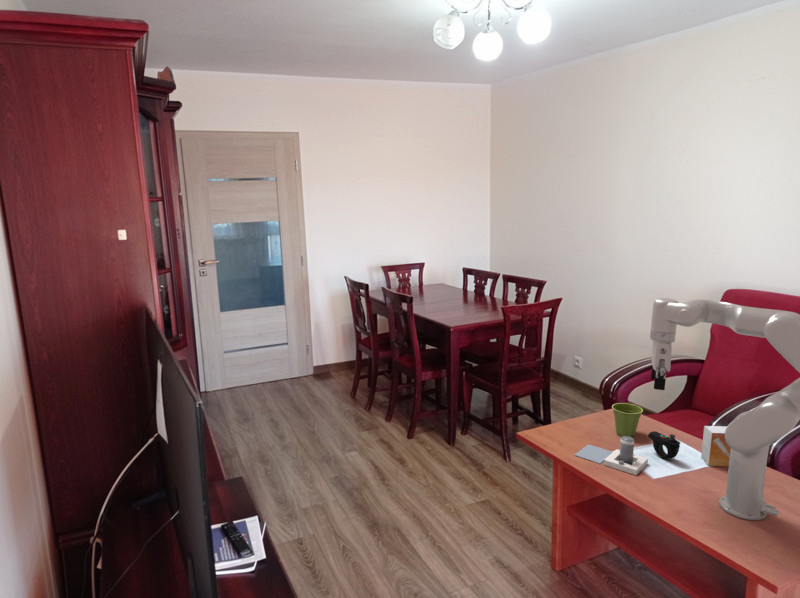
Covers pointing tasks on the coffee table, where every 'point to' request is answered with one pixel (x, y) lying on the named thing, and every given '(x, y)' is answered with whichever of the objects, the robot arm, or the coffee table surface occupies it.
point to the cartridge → (626, 449)
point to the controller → (664, 440)
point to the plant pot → (626, 418)
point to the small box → (715, 446)
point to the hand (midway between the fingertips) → (657, 384)
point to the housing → (620, 465)
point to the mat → (593, 453)
